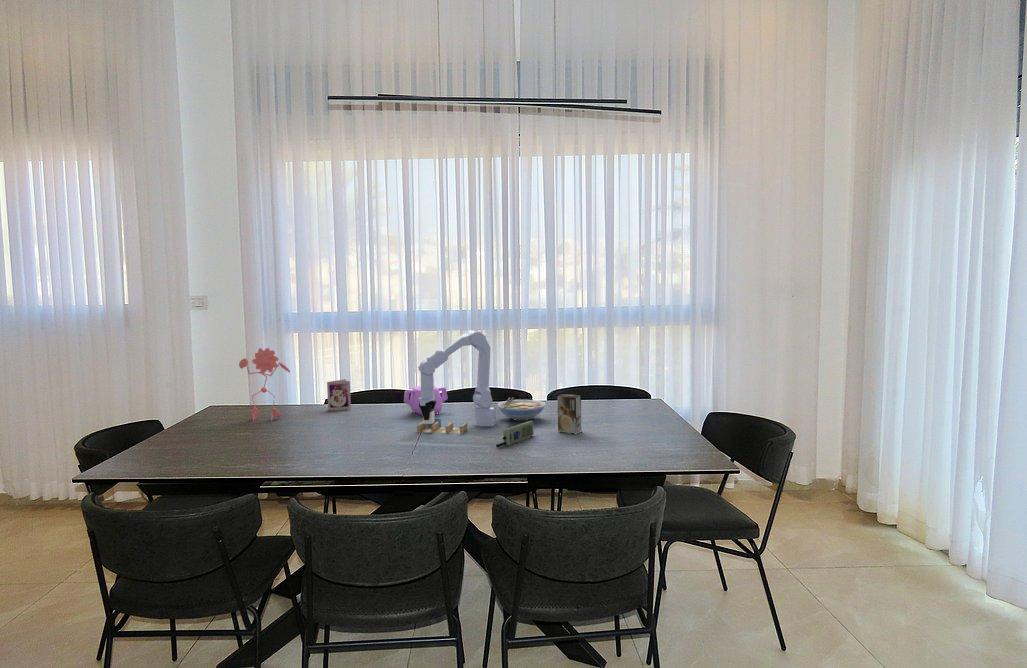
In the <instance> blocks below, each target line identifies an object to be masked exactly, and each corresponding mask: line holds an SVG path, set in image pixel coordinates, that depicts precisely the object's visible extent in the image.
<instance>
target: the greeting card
mask: <svg viewBox="0 0 1027 668" xmlns="http://www.w3.org/2000/svg"><path fill="white" fill-rule="evenodd" d="M346 379H347V378H346ZM346 379H339V380H337V379H336V380H331V381H326V390H327V391H326V393H327V411H329V410H330V411H343V410H345V409H347V410H351V409H352V407H351V406H352V405H351V404H352V403H351V381H350V380H346ZM330 411H329V412H330ZM345 411H346V410H345Z"/></svg>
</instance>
